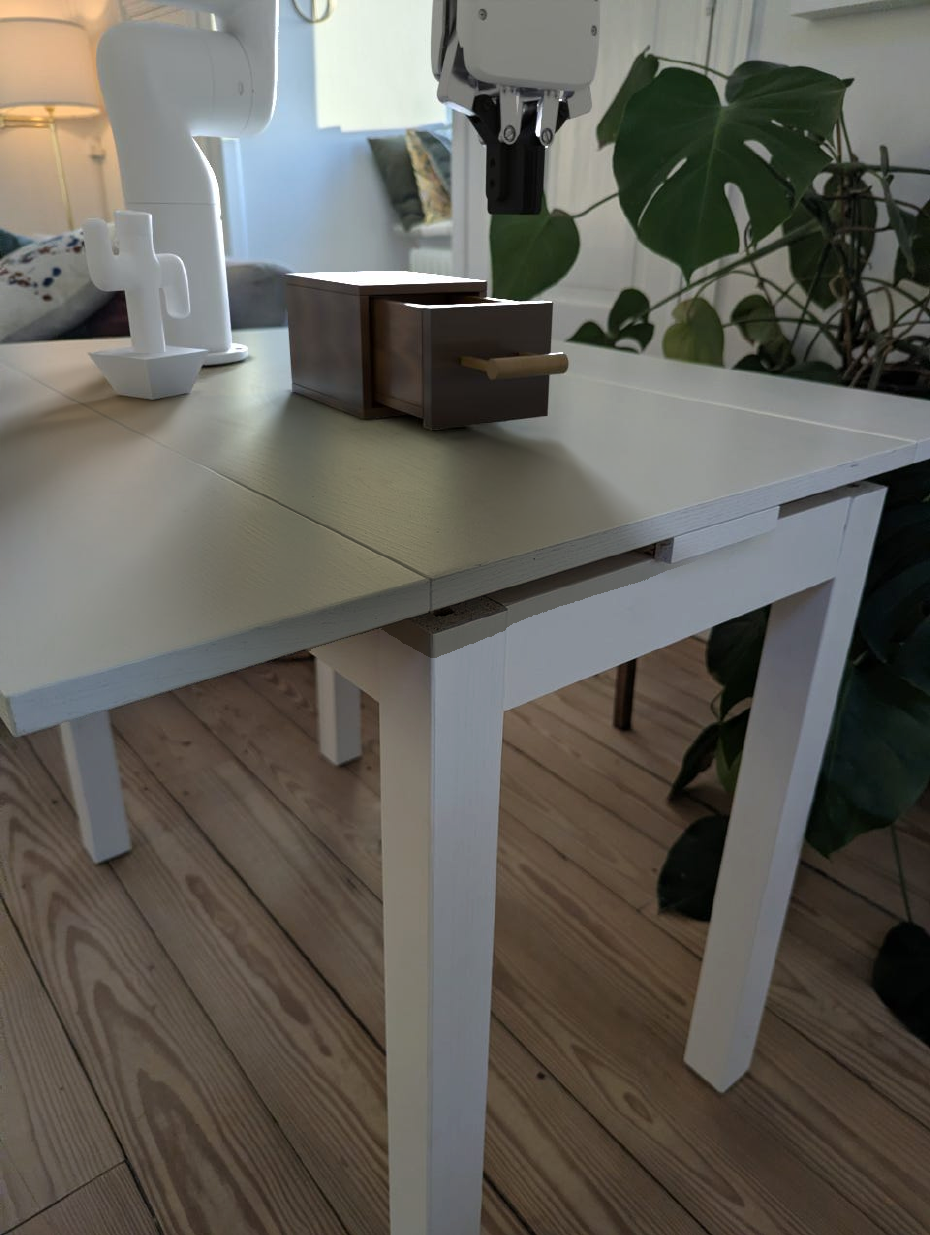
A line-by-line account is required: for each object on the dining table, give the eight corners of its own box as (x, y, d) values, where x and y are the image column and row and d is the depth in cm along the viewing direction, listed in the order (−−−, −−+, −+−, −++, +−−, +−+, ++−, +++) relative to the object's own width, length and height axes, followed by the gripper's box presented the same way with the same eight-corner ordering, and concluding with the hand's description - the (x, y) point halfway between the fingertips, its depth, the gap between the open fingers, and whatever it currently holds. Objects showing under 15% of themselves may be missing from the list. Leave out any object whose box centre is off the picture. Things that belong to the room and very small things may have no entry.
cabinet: (485, 406, 78) (487, 281, 74) (363, 419, 72) (359, 284, 68) (402, 381, 89) (401, 271, 85) (292, 391, 83) (284, 273, 79)
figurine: (221, 389, 83) (205, 211, 77) (141, 406, 76) (116, 209, 70) (165, 382, 87) (145, 210, 81) (83, 397, 79) (54, 209, 73)
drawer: (589, 428, 66) (597, 308, 63) (468, 444, 61) (470, 314, 57) (455, 389, 80) (456, 289, 77) (348, 399, 75) (344, 293, 72)
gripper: (585, -93, 59) (569, 215, 67) (377, -141, 52) (384, 213, 59) (667, -125, 53) (639, 216, 61) (445, -184, 46) (444, 213, 53)
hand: (513, 213), depth 60 cm, fingers closed
